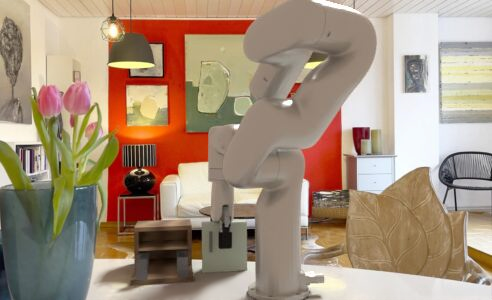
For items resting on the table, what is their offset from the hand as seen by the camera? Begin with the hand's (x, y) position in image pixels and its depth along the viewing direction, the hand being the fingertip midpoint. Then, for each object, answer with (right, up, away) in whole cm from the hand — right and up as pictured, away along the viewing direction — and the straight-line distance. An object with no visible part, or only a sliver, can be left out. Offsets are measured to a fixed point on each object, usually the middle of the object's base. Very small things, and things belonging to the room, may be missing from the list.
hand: (222, 243), depth 104 cm
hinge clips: (-14, -7, -8) cm, 17 cm away
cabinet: (-15, -7, -1) cm, 16 cm away
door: (+1, -6, -1) cm, 6 cm away
